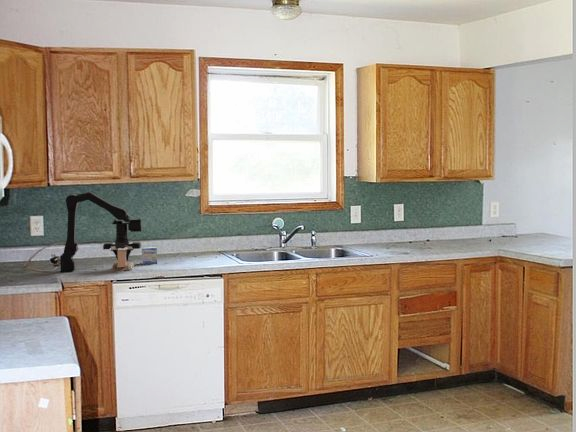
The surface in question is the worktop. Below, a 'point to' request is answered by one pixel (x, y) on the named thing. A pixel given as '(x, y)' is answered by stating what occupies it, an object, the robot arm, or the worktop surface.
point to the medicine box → (149, 255)
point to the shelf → (122, 267)
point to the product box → (122, 257)
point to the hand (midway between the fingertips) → (122, 262)
